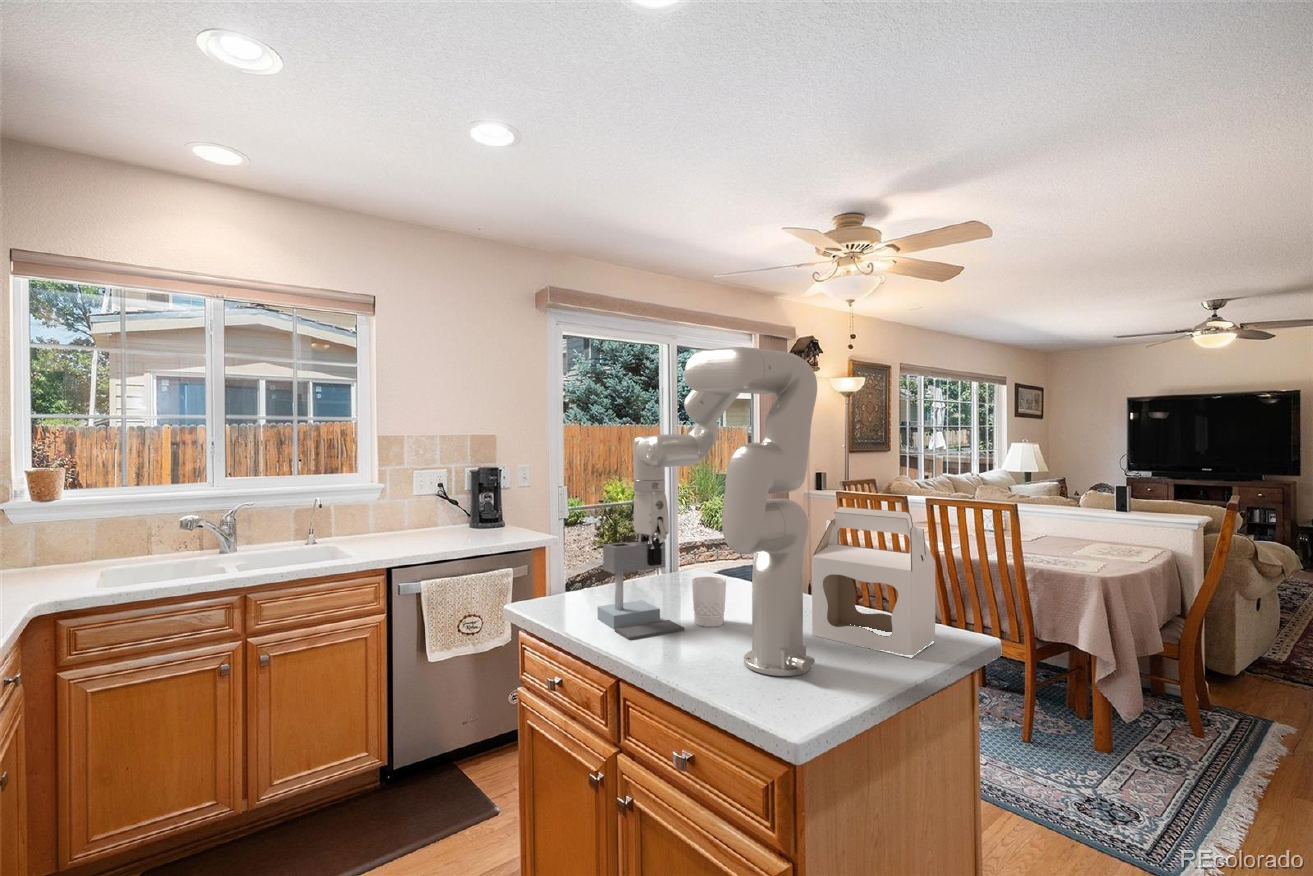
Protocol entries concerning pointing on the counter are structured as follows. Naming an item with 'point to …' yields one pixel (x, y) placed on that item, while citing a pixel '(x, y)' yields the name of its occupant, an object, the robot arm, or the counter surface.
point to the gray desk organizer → (628, 557)
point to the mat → (649, 629)
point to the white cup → (709, 601)
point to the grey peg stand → (627, 610)
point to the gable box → (874, 566)
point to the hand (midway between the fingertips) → (650, 562)
